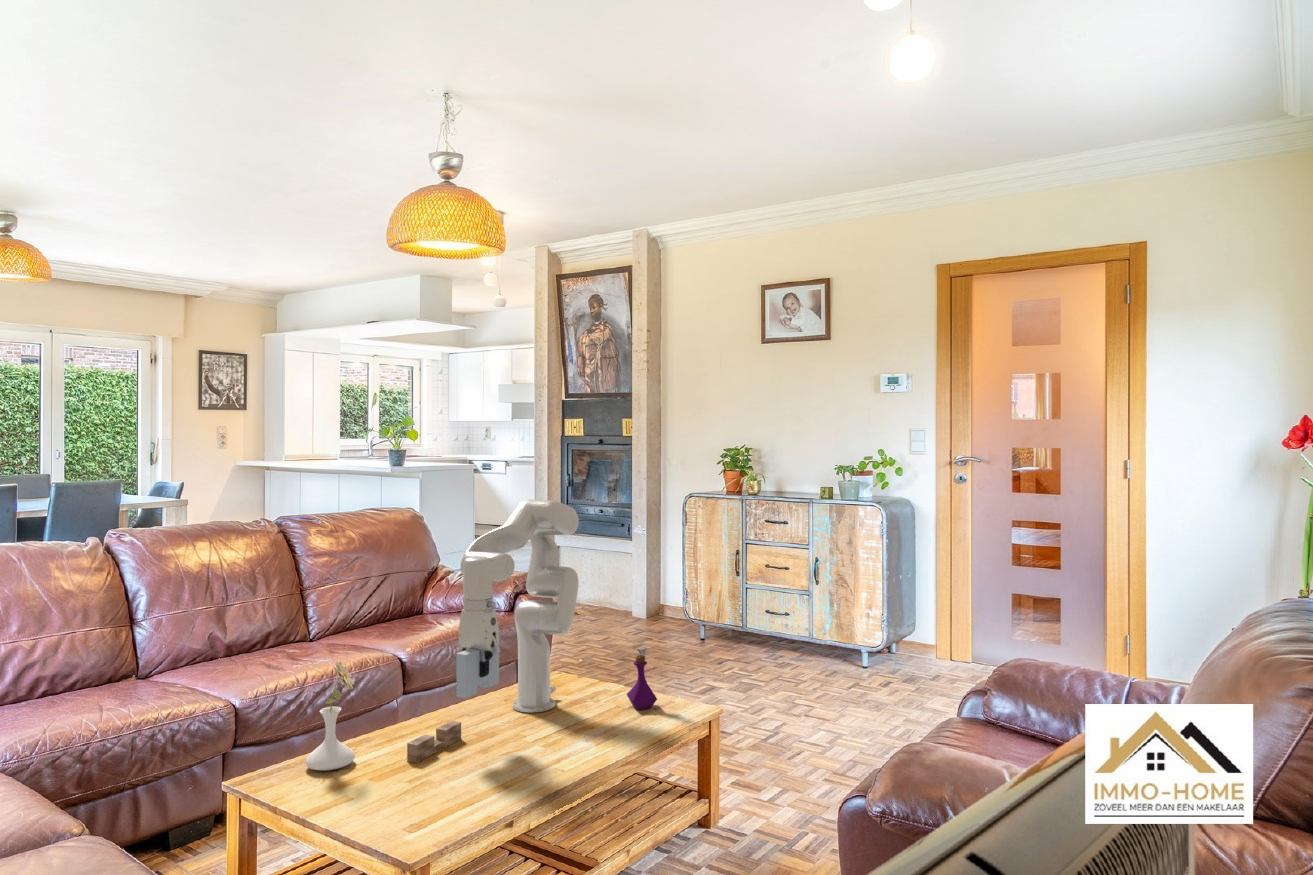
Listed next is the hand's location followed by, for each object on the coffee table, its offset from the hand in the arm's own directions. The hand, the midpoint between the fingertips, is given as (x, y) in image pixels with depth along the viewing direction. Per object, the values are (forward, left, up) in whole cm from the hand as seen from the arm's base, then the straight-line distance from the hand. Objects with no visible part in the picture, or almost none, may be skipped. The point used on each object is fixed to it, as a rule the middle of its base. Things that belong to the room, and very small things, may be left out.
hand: (478, 674), depth 218 cm
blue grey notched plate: (0, 0, -4) cm, 4 cm away
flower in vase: (+24, -26, -19) cm, 40 cm away
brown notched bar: (+6, -9, -19) cm, 22 cm away
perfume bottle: (-46, +26, -19) cm, 56 cm away
